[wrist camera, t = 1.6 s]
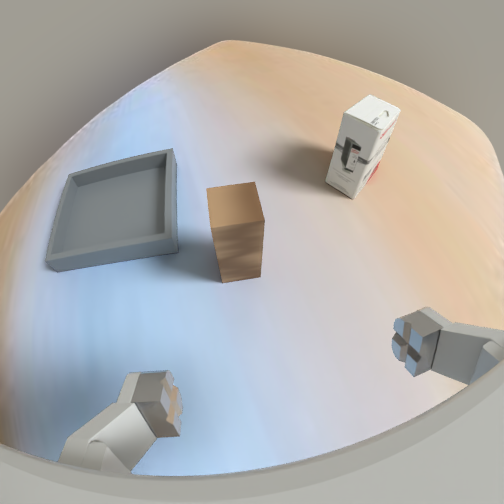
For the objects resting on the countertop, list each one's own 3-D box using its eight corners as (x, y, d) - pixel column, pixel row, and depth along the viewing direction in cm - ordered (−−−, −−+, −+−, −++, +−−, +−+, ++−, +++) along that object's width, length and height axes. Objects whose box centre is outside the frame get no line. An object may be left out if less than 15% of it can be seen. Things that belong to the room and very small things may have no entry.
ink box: (350, 154, 39) (370, 91, 29) (377, 171, 38) (402, 108, 28) (323, 182, 36) (342, 109, 26) (352, 201, 35) (381, 130, 24)
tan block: (222, 283, 29) (210, 228, 20) (217, 250, 31) (206, 188, 22) (260, 277, 29) (264, 220, 20) (253, 244, 31) (254, 181, 22)
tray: (57, 272, 29) (45, 261, 26) (76, 187, 36) (68, 174, 34) (178, 252, 31) (171, 238, 28) (176, 163, 38) (172, 148, 35)
